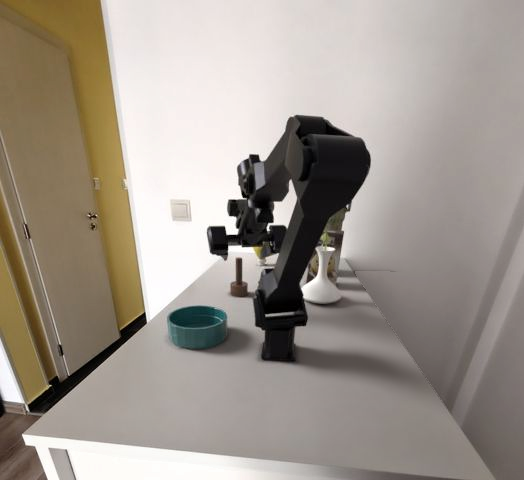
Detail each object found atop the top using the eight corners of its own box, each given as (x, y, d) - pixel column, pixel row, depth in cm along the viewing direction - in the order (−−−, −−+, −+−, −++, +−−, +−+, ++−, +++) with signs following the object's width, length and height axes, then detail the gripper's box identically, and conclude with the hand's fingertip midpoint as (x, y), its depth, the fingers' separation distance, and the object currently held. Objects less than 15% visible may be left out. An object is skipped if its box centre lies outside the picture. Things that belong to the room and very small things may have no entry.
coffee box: (305, 286, 101) (310, 231, 93) (307, 280, 106) (313, 227, 98) (335, 289, 99) (343, 233, 91) (336, 283, 104) (344, 229, 97)
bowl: (221, 351, 64) (221, 330, 62) (161, 347, 65) (158, 326, 63) (231, 325, 75) (230, 306, 73) (178, 322, 75) (177, 303, 73)
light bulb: (250, 262, 123) (250, 234, 118) (267, 262, 125) (268, 234, 120) (255, 267, 117) (255, 238, 112) (273, 266, 119) (274, 237, 114)
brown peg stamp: (246, 297, 91) (246, 260, 86) (229, 296, 91) (228, 259, 86) (248, 291, 95) (248, 256, 90) (231, 290, 95) (231, 255, 91)
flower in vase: (307, 290, 98) (317, 197, 86) (345, 297, 93) (361, 200, 81) (289, 303, 88) (296, 200, 76) (330, 313, 83) (345, 204, 71)
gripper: (289, 187, 74) (271, 230, 89) (205, 185, 69) (201, 231, 84) (299, 230, 71) (279, 267, 86) (213, 232, 66) (207, 271, 81)
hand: (242, 258), depth 84 cm, fingers open, 9 cm apart
